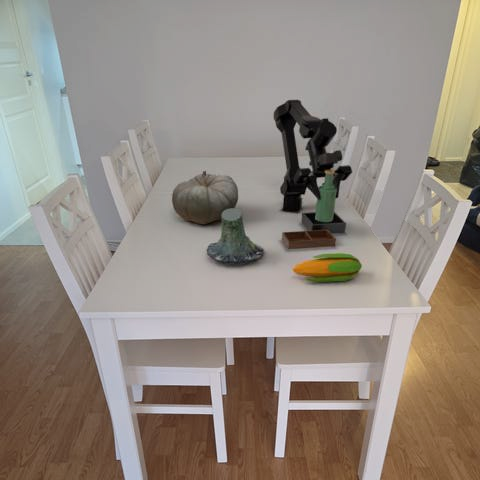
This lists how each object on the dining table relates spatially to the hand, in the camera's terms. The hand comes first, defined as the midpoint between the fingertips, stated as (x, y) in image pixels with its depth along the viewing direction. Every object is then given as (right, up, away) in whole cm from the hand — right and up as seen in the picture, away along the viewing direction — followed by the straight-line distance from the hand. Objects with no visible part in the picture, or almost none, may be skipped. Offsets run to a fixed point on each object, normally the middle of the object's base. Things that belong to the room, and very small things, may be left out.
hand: (328, 198), depth 147 cm
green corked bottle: (0, -5, +5) cm, 8 cm away
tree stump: (-30, -19, -4) cm, 36 cm away
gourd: (-42, -1, +23) cm, 48 cm away
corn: (-4, -28, -17) cm, 33 cm away
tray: (+1, -7, +15) cm, 16 cm away
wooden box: (-6, -14, +3) cm, 16 cm away
